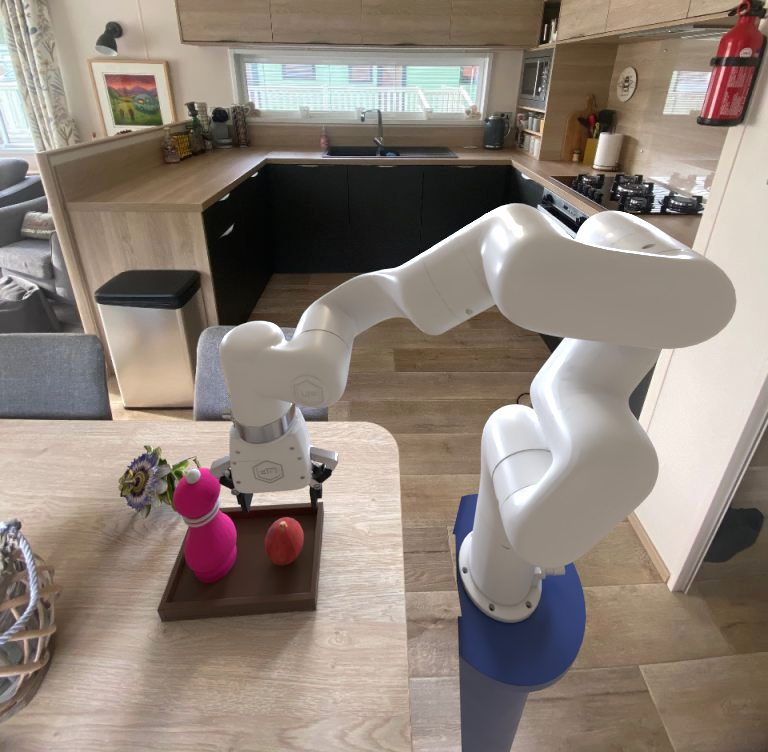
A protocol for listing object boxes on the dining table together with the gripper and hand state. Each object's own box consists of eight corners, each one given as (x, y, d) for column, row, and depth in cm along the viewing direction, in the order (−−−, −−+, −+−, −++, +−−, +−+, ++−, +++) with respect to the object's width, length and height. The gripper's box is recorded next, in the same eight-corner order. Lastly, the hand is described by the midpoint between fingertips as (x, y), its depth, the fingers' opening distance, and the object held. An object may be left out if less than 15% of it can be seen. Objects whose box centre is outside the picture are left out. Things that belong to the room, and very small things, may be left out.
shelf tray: (323, 512, 68) (323, 501, 67) (316, 610, 56) (315, 598, 55) (198, 520, 67) (194, 509, 66) (161, 622, 54) (156, 610, 53)
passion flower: (147, 529, 71) (97, 488, 68) (193, 471, 79) (150, 432, 76) (171, 536, 64) (116, 491, 61) (218, 472, 72) (172, 429, 69)
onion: (261, 573, 59) (254, 541, 56) (276, 533, 64) (270, 501, 61) (298, 580, 58) (293, 547, 55) (310, 538, 64) (306, 506, 60)
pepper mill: (230, 587, 57) (207, 498, 50) (181, 588, 57) (150, 498, 50) (246, 534, 64) (228, 448, 56) (202, 534, 64) (178, 448, 56)
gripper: (184, 443, 46) (212, 534, 52) (331, 433, 47) (340, 524, 53) (207, 395, 53) (229, 481, 59) (335, 387, 54) (342, 473, 60)
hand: (282, 501), depth 56 cm, fingers open, 9 cm apart
